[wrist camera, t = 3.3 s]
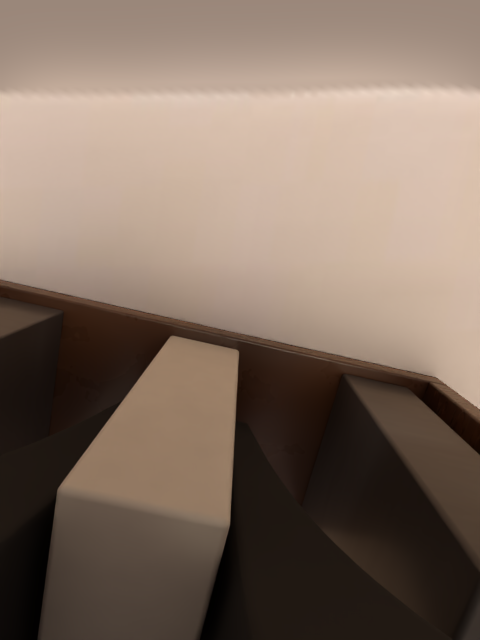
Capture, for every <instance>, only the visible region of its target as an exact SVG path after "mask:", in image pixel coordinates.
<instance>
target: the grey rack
mask: <svg viewBox="0 0 480 640" xmlns="http://www.w3.org/2000/svg"><path fill="white" fill-rule="evenodd" d="M170 336H177V337H182V338H186V339H191V340H195V341H200V342H204V343H209V344H213V345H218V346H222V347H227V348H231V349H236V350H238V351H239V363H238V382H237V401H236V421H238V422H243V423H247V424H248V425H249V427H250V429H251V431H252V433H253V434H254V436H255V438H256V440H257V442H258V444H259V445H260V447H261V449H262V451H263V452H264V454H265V456H266V458H267V459H268V461H269V462H270V464H271V466H272V467H273V469H274V470H275V472H276V474H277V475H278V476H279V478H280V479H281V481H282V482H283V483H284V485H285V486H286V488H287V489H288V490H289V492H290V493H291V494H292V496H293V497H294V498H295V500H296V501H297V502H298V503H299V504H300V506H301V507H302V508H303V509H304V510H305V512H306V513H307V514H308V515H309V516H310V517H311V518H312V519H313V521H314V522H315V523H316V524H317V525H318V526H319V527H320V528H321V530H322V531H323V532H324V533H325V534H326V535H327V536H328V537H329V538H330V539H331V540H332V541H333V542H334V543H335V544H336V545H337V546H338V547H339V548H340V549H341V550H343V551H344V552H345V553H346V554H347V555H348V556H349V557H350V558H351V559H352V560H353V561H354V562H355V563H356V564H357V565H358V566H360V567H361V568H362V569H363V570H364V571H365V572H366V573H368V574H369V575H370V576H371V577H372V578H373V579H374V580H376V581H377V582H378V583H379V584H380V585H382V586H383V587H384V588H385V589H387V590H388V591H389V592H390V593H391V594H393V595H394V596H395V597H396V598H398V599H399V600H400V601H401V602H403V603H404V604H405V605H406V606H408V607H409V608H410V609H411V610H413V611H414V612H415V613H417V614H418V615H419V616H421V617H422V618H423V619H425V620H426V621H428V622H429V623H430V624H432V625H433V626H435V627H436V628H437V629H439V630H440V631H442V632H443V633H445V634H446V635H447V636H449V637H450V638H452V639H453V640H480V410H479V409H478V408H477V407H475V406H474V405H473V404H471V403H470V402H469V401H467V400H466V399H465V398H463V397H462V396H461V395H459V394H458V393H457V392H455V391H454V390H452V389H451V388H450V387H448V386H447V385H446V384H444V383H443V382H442V381H440V380H439V379H438V378H434V377H430V376H425V375H421V374H417V373H412V372H408V371H403V370H399V369H394V368H390V367H385V366H381V365H376V364H372V363H367V362H363V361H359V360H354V359H350V358H345V357H341V356H336V355H332V354H327V353H323V352H318V351H314V350H309V349H305V348H301V347H296V346H292V345H287V344H283V343H278V342H274V341H269V340H265V339H260V338H256V337H251V336H247V335H243V334H238V333H234V332H229V331H225V330H220V329H216V328H211V327H207V326H202V325H198V324H193V323H189V322H185V321H180V320H176V319H171V318H167V317H162V316H158V315H153V314H149V313H144V312H140V311H135V310H131V309H127V308H122V307H118V306H113V305H109V304H104V303H100V302H95V301H91V300H86V299H82V298H77V297H73V296H69V295H64V294H60V293H55V292H51V291H46V290H42V289H37V288H33V287H28V286H24V285H19V284H15V283H11V282H6V281H2V280H0V455H1V454H4V453H7V452H10V451H13V450H16V449H19V448H21V447H24V446H27V445H29V444H32V443H34V442H37V441H39V440H42V439H44V438H46V437H49V436H51V435H53V434H55V433H58V432H60V431H62V430H64V429H67V428H69V427H71V426H73V425H76V424H78V423H80V422H82V421H84V420H86V419H88V418H90V417H92V416H94V415H95V414H97V413H99V412H101V411H103V410H105V409H107V408H109V407H111V406H113V405H115V404H116V403H118V402H120V401H122V400H124V398H125V397H126V396H127V394H128V393H129V392H130V390H131V389H132V388H133V386H134V385H135V383H136V382H137V381H138V379H139V378H140V377H141V375H142V374H143V373H144V371H145V370H146V369H147V367H148V366H149V365H150V363H151V362H152V360H153V359H154V358H155V356H156V355H157V354H158V352H159V351H160V350H161V348H162V347H163V346H164V344H165V343H166V342H167V340H168V339H169V337H170Z"/></svg>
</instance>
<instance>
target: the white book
mask: <svg viewBox="0 0 480 640" xmlns="http://www.w3.org/2000/svg"><path fill="white" fill-rule="evenodd" d="M238 363H239V351H238V350H236V349H231V348H227V347H222V346H218V345H213V344H209V343H204V342H200V341H195V340H191V339H186V338H182V337H177V336H170V337H169V339H168V340H167V342H166V343H165V344H164V346H163V347H162V348H161V350H160V351H159V352H158V354H157V355H156V356H155V358H154V359H153V360H152V362H151V363H150V365H149V366H148V367H147V369H146V370H145V371H144V373H143V374H142V375H141V377H140V378H139V379H138V381H137V382H136V383H135V385H134V386H133V388H132V389H131V390H130V392H129V393H128V394H127V396H126V397H125V398H124V400H123V401H122V402H121V404H120V405H119V406H118V408H117V409H116V411H115V412H114V413H113V415H112V416H111V417H110V419H109V420H108V421H107V423H106V424H105V425H104V427H103V428H102V429H101V431H100V432H99V434H98V435H97V436H96V438H95V439H94V440H93V442H92V443H91V444H90V446H89V447H88V448H87V450H86V451H85V452H84V454H83V455H82V457H81V458H80V459H79V461H78V462H77V463H76V465H75V466H74V467H73V469H72V470H71V471H70V473H69V474H68V475H67V477H66V478H65V480H64V481H63V482H62V484H61V485H60V486H59V488H58V490H57V497H56V505H55V512H54V520H53V527H52V534H51V542H50V549H49V557H48V564H47V571H46V579H45V586H44V594H43V601H42V609H41V616H40V623H39V631H38V638H37V640H200V637H201V634H202V630H203V626H204V622H205V618H206V615H207V611H208V607H209V603H210V599H211V596H212V592H213V588H214V584H215V580H216V577H217V573H218V569H219V565H220V561H221V557H222V554H223V550H224V546H225V542H226V538H227V535H228V531H229V527H230V518H231V498H232V479H233V460H234V440H235V421H236V401H237V382H238Z"/></svg>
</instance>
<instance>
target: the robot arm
mask: <svg viewBox="0 0 480 640" xmlns="http://www.w3.org/2000/svg"><path fill="white" fill-rule="evenodd" d="M122 401H123V400H122ZM122 401H120V402H118V403H116V404H115V405H113V406H111V407H109V408H107V409H105V410H103V411H101V412H99V413H97V414H95V415H94V416H92V417H90V418H88V419H86V420H84V421H82V422H80V423H78V424H76V425H73V426H71V427H69V428H67V429H64V430H62V431H60V432H58V433H55V434H53V435H51V436H49V437H46V438H44V439H42V440H39V441H37V442H34V443H32V444H29V445H27V446H24V447H21V448H19V449H16V450H13V451H10V452H7V453H4V454H1V455H0V640H37V638H38V631H39V623H40V616H41V609H42V601H43V594H44V586H45V579H46V571H47V564H48V557H49V549H50V542H51V534H52V527H53V520H54V512H55V505H56V497H57V490H58V488H59V486H60V485H61V484H62V482H63V481H64V480H65V478H66V477H67V475H68V474H69V473H70V471H71V470H72V469H73V467H74V466H75V465H76V463H77V462H78V461H79V459H80V458H81V457H82V455H83V454H84V452H85V451H86V450H87V448H88V447H89V446H90V444H91V443H92V442H93V440H94V439H95V438H96V436H97V435H98V434H99V432H100V431H101V429H102V428H103V427H104V425H105V424H106V423H107V421H108V420H109V419H110V417H111V416H112V415H113V413H114V412H115V411H116V409H117V408H118V406H119V405H120V404H121V402H122ZM200 640H453V639H452V638H450V637H449V636H447V635H446V634H445V633H443V632H442V631H440V630H439V629H437V628H436V627H435V626H433V625H432V624H430V623H429V622H428V621H426V620H425V619H423V618H422V617H421V616H419V615H418V614H417V613H415V612H414V611H413V610H411V609H410V608H409V607H408V606H406V605H405V604H404V603H403V602H401V601H400V600H399V599H398V598H396V597H395V596H394V595H393V594H391V593H390V592H389V591H388V590H387V589H385V588H384V587H383V586H382V585H380V584H379V583H378V582H377V581H376V580H374V579H373V578H372V577H371V576H370V575H369V574H368V573H366V572H365V571H364V570H363V569H362V568H361V567H360V566H358V565H357V564H356V563H355V562H354V561H353V560H352V559H351V558H350V557H349V556H348V555H347V554H346V553H345V552H344V551H343V550H341V549H340V548H339V547H338V546H337V545H336V544H335V543H334V542H333V541H332V540H331V539H330V538H329V537H328V536H327V535H326V534H325V533H324V532H323V531H322V530H321V528H320V527H319V526H318V525H317V524H316V523H315V522H314V521H313V519H312V518H311V517H310V516H309V515H308V514H307V513H306V512H305V510H304V509H303V508H302V507H301V506H300V504H299V503H298V502H297V501H296V500H295V498H294V497H293V496H292V494H291V493H290V492H289V490H288V489H287V488H286V486H285V485H284V483H283V482H282V481H281V479H280V478H279V476H278V475H277V474H276V472H275V470H274V469H273V467H272V466H271V464H270V462H269V461H268V459H267V458H266V456H265V454H264V452H263V451H262V449H261V447H260V445H259V444H258V442H257V440H256V438H255V436H254V434H253V433H252V431H251V429H250V427H249V425H248V424H247V423H243V422H238V421H235V440H234V460H233V479H232V498H231V518H230V527H229V531H228V535H227V538H226V542H225V546H224V550H223V554H222V557H221V561H220V565H219V569H218V573H217V577H216V580H215V584H214V588H213V592H212V596H211V599H210V603H209V607H208V611H207V615H206V618H205V622H204V626H203V630H202V634H201V637H200Z"/></svg>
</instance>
